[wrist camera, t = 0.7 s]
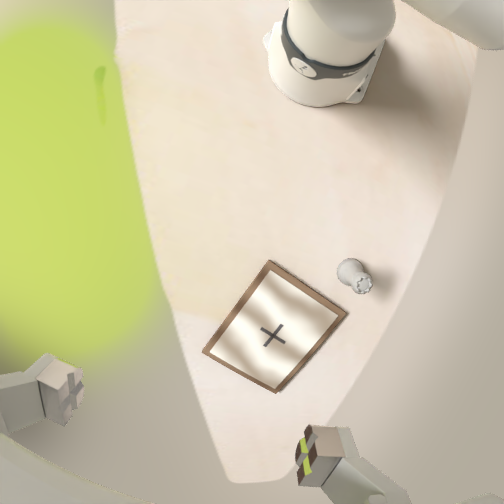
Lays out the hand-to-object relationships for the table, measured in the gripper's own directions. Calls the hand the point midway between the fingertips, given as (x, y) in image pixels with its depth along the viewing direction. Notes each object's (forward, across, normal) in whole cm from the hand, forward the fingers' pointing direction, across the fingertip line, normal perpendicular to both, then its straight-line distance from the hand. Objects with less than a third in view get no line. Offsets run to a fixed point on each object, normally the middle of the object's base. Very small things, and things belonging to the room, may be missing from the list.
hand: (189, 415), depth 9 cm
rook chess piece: (+40, -18, +2) cm, 44 cm away
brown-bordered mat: (+40, -9, +15) cm, 44 cm away
